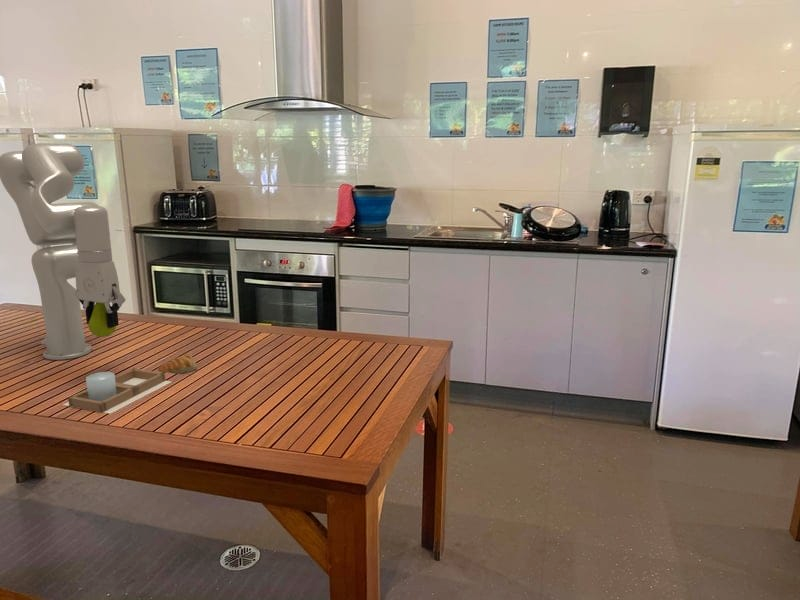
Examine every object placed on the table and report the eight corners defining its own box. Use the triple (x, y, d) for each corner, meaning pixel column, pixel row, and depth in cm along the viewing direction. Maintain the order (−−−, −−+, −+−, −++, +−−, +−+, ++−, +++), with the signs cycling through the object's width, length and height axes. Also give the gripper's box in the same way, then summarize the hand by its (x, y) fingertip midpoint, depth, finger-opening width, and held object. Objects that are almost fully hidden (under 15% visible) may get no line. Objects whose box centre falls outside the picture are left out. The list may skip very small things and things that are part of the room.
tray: (63, 409, 137) (61, 396, 136) (128, 379, 155) (127, 367, 154) (110, 418, 132) (109, 405, 132) (172, 386, 151) (171, 374, 150)
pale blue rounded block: (83, 403, 137) (79, 379, 136) (103, 394, 143) (100, 370, 141) (103, 407, 135) (100, 382, 134) (123, 397, 141) (120, 373, 139)
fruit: (99, 341, 150) (94, 295, 146) (85, 336, 153) (79, 291, 149) (122, 335, 155) (118, 290, 152) (108, 330, 158) (103, 286, 155)
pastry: (164, 379, 156) (163, 365, 155) (154, 372, 160) (153, 359, 160) (198, 370, 162) (197, 357, 161) (188, 364, 167) (186, 351, 166)
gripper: (56, 255, 147) (65, 324, 152) (110, 262, 142) (118, 333, 147) (81, 250, 154) (88, 316, 159) (134, 256, 149) (140, 325, 154)
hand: (102, 324), depth 153 cm, fingers closed on fruit, 5 cm apart
